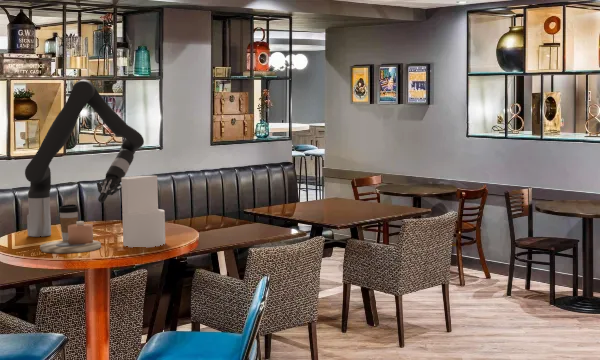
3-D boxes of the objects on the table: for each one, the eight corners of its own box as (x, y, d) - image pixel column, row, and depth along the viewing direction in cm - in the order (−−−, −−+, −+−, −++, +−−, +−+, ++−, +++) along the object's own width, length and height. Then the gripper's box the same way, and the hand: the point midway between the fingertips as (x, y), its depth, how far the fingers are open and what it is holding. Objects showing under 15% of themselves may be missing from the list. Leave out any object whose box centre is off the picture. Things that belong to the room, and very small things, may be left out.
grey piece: (114, 245, 346) (112, 178, 343) (144, 239, 360) (142, 175, 357) (144, 249, 336) (142, 180, 333) (174, 242, 350) (172, 176, 348)
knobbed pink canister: (63, 243, 342) (62, 222, 341) (76, 239, 351) (76, 219, 350) (84, 244, 339) (84, 223, 338) (97, 240, 348) (97, 220, 348)
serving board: (27, 251, 332) (27, 248, 332) (61, 242, 355) (61, 238, 355) (80, 254, 325) (80, 250, 325) (111, 244, 348) (111, 240, 348)
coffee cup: (83, 238, 363) (82, 204, 362) (72, 242, 355) (70, 207, 354) (67, 238, 366) (65, 204, 364) (55, 241, 358) (54, 206, 356)
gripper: (101, 164, 365) (84, 195, 356) (125, 165, 359) (108, 196, 350) (110, 175, 371) (92, 206, 361) (134, 176, 365) (117, 207, 355)
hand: (100, 201), depth 355 cm, fingers closed
